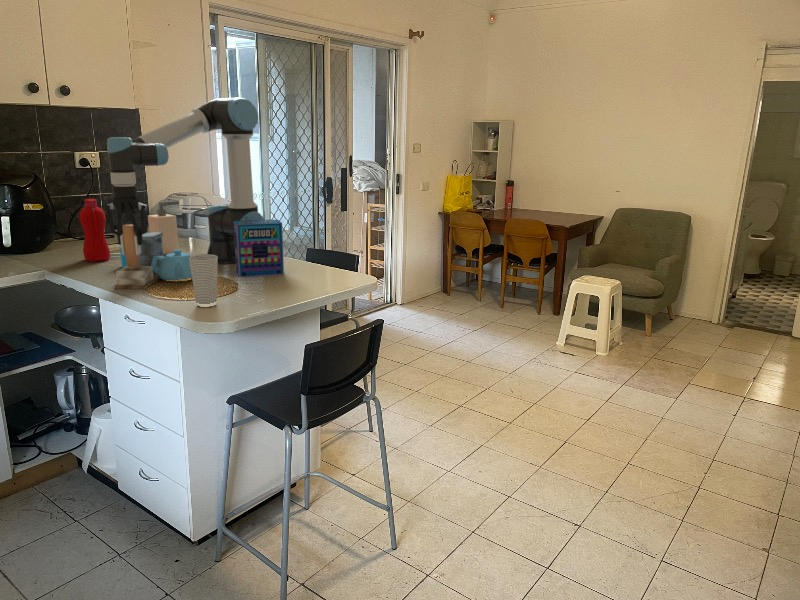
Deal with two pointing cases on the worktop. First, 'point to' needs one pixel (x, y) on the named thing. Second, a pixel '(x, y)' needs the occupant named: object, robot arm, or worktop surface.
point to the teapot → (173, 266)
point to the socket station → (142, 264)
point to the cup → (204, 277)
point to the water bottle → (94, 232)
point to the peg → (130, 246)
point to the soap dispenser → (165, 227)
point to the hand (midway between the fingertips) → (131, 253)
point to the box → (258, 248)
